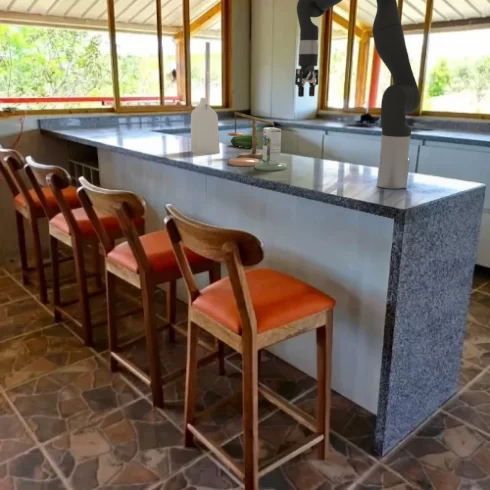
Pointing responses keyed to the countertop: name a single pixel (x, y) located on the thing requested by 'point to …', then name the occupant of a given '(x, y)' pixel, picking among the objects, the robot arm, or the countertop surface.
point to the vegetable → (243, 141)
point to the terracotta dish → (243, 161)
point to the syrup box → (271, 146)
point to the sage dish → (270, 167)
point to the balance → (253, 154)
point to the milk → (204, 129)
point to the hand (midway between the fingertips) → (306, 96)
